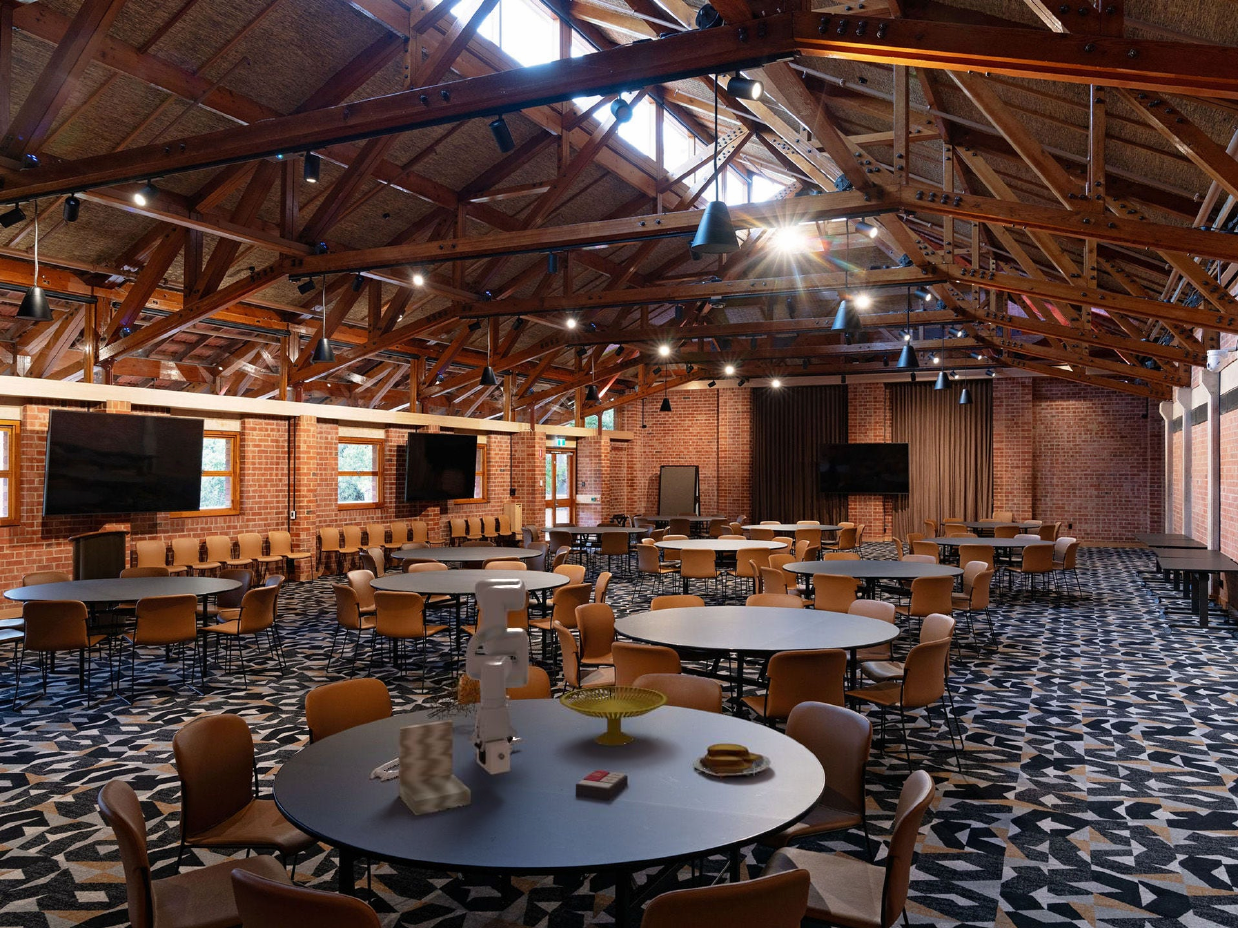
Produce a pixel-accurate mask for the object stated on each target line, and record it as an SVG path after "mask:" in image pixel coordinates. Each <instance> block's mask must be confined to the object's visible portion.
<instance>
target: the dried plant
mask: <svg viewBox="0 0 1238 928" xmlns="http://www.w3.org/2000/svg"><path fill="white" fill-rule="evenodd" d="M530 665H531V666H533V665H532V663H530ZM461 675H463V676H461ZM460 678H461V679H460ZM465 678H466V679H465ZM461 681H465V682H463V683H462V685H463V686H462V685H461V684H460V682H461ZM474 681H475V682H474ZM468 684H469V685H468ZM478 685H479V680H472V679H470V678H469V677H468V676H467V674H466V672H462V673H460V676H458V678H457V679H455V683H452V685H450V684H449V681H447V682H446V688H445V687H444V690H443V693H444V694H441V689H439V690H438V691H439V693H435V695H434V696H435V698H434V699H435V700H434V704H430V703H429V704H428V705H429V707H426V709H424V710H425V711H427V713H429V712H430V711H432V712H431V713H429V714H426V716H427V717H426V719H428V720H429V719H431V718H434V717H435V716H436V719H437V720H438V721H437V722H440V720H441V719H442V720H441V721H444V718H445V717H446V718H453V717H460V716H462V717H465V718H467V717H468V716H469V717H470V718H473V716H470V715H469V714H472V711H473V712H474V714H475V715H477V710H478V708H476V703H479V700H478V699H479V698H480V699H481V692H480V687H479V686H478ZM469 686H470V687H469ZM459 687H460V688H461V689H460V688H459ZM467 688H469V691H468V690H467ZM508 690H509V688H506V691H508ZM453 691H454V692H453ZM462 692H463V693H462ZM461 693H462V694H461ZM478 695H479V696H478ZM458 696H459V697H460V699H457V698H458ZM453 698H454V699H453ZM456 699H457V700H456ZM464 699H466V701H465V700H464ZM452 700H454V701H453V702H451V701H452ZM462 700H463V701H462ZM470 703H472V704H470ZM435 705H436V706H435ZM470 705H472V706H471V707H469V706H470ZM434 706H435V707H434ZM438 707H439V708H438ZM472 707H473V708H472ZM429 709H430V710H429ZM435 709H436V710H435ZM433 710H434V711H433ZM454 711H455V712H454ZM462 712H464V713H465V714H461V713H462ZM468 713H469V714H468ZM459 714H460V715H459ZM474 720H476V717H474Z"/></svg>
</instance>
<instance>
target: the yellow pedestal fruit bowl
mask: <svg viewBox="0 0 1238 928" xmlns="http://www.w3.org/2000/svg"><path fill="white" fill-rule="evenodd" d="M605 690H606V691H605ZM601 692H602V693H601ZM610 692H611V693H610ZM640 692H641V693H640ZM614 693H615V694H614ZM606 694H607V695H606ZM610 694H611V695H610ZM618 694H619V695H618ZM622 695H623V696H622ZM630 695H631V696H630ZM558 701H559V702H560V704H561V705H562V706H564V707H566V708H568V709H570V710H572V711H575V712H577V713H579V714H580V715H584V716H587V717H592V718H598V719H599V718H601V719H603V718H604V719H606V721H607V722H606V732H603V733H602V734H600V735H598V736H596V737H595V738H594V741H595V742H596V743H597V744H599V743H601V744H600V745H603V744H604V746H613V745H614V746H622V745H621V744H624V743H628V744H630V743H629V742H630V741H632V739H633V740H634V738H633V736H631V735H629V734H626V733H625V732H623V731H622V718H624V719H626V718H628V719H629V718H633V717H634V718H635V717H639V716H644V715H646V714H648V713H650V712H652V711H654V710H655V711H656V709H659V708H661V707H663V706H665V705H666V704H667V703H668V702H669V697H668V696H667V695H666V694H664V693H662V692H659V691H656V690H653V689H649V688H644V687H635V686H620V685H619V686H618V685H617V686H615V685H614V686H598V687H596V686H595V687H586V688H581V689H577V690H573V691H570V692H567V693H564V694H562V695H561V696H560V698H559V699H558ZM632 742H633V741H632Z"/></svg>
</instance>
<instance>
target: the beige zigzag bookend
mask: <svg viewBox="0 0 1238 928" xmlns="http://www.w3.org/2000/svg"><path fill="white" fill-rule="evenodd" d="M453 723H454V721H453V720H451V719H449V720H441V721H436V722H434V721H433V722H429V723H422V724H421V723H420V724H415V725H409V726H402V727H399V728H398V734H399V735H398V758H399V765H398V770H399V776H398V796H400V797H401V798H400V797H399V798H400V799H401V800H402V801H403V802H404V804H405V803H406V804H405V805H406V806H407V807H408V808H409V810H410V811H411V812H412V813H413V814H414V815H415V816H420V815H424V814H425V815H426V814H430V813H434V812H439V810H440V811H444V810H448V809H447V808H450V809H454V807H455V808H458V807H457V806H460V807H463V805H464V806H468V805H471V803H472V802H471V799H472V796H471V795H472V794H471V793H472V792H471V789H470V788H469V787H468V786H467V785H466V784H464V783H463V782H462V781H461V780H460V779H459V778H458V777H456V776H455V775H454V774H453V762H454V761H453V758H454V757H453V752H454V751H453V744H454V742H453V740H454V739H453V737H454V735H453V734H454V733H453V728H454V727H453V725H454V724H453Z"/></svg>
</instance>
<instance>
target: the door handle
mask: <svg viewBox="0 0 1238 928" xmlns="http://www.w3.org/2000/svg"><path fill="white" fill-rule="evenodd" d="M398 764H399V757H397V758H396V759H393V760H391V761H389V762H386V763H384V764H383V765H381V766H379V767H376V768H375V769H374V770H372V772H371V774H370V779H371V780H373V779H374V778H377V777H379V778H381V779H380V781H382V782H383V781H387V779H390V780H392V779H391V778H393V779H395V778H397V777H396V776H398V777H399V769H397V770H388V768H389V769H391V768H393V766H394V765H396V766H399V765H398ZM390 767H391V768H390ZM394 767H395V766H394ZM384 770H385V771H384ZM376 776H377V777H376ZM394 777H395V778H394Z"/></svg>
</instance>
